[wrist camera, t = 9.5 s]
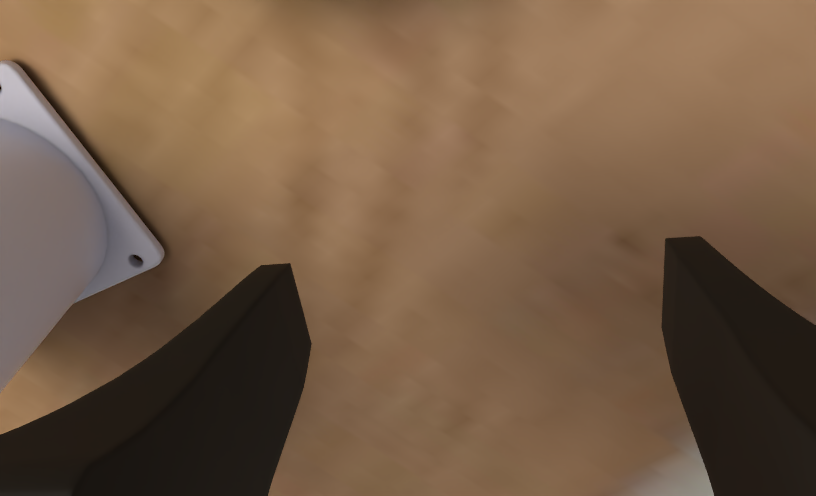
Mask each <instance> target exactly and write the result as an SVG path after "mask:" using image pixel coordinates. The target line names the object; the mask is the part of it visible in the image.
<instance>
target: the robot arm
mask: <svg viewBox="0 0 816 496" xmlns="http://www.w3.org/2000/svg"><path fill="white" fill-rule="evenodd" d="M0 85H1V90H0V393H1V392H2V390H3V389H4V388H5V387H6V385H7V384H8V383H9V382H10V380H11V379H12V378H13V377H14V376H15V374H16V373H17V372H18V371H19V369H20V368H21V367H22V366H23V364H24V363H25V362H26V361H27V360H28V358H29V357H30V356H31V355H32V353H33V352H34V351H35V350H36V348H37V347H38V346H39V345H40V344H41V342H42V341H43V340H44V339H45V337H46V336H47V335H48V334H49V332H50V331H51V330H52V329H53V328H54V326H55V325H56V324H57V323H58V321H59V320H60V319H61V318H62V316H63V315H64V314H65V313H66V312H67V310H68V309H69V308H70V307H71V305H72V304H73V303H76V302H78V301H80V300H82V299H85V298H87V297H89V296H91V295H93V294H96V293H98V292H100V291H102V290H105V289H107V288H109V287H111V286H114V285H116V284H118V283H120V282H122V281H125V280H127V279H129V278H131V277H134V276H136V275H138V274H140V273H142V272H145V271H147V270H149V269H151V268H154V267H156V266H157V265H159V264H160V262H161V261H162V260H163V258H164V255H165V254H164V249H163V247H162V246H161V244H160V243H159V242H158V240H157V239H156V238H155V237H154V235H153V234H152V233H151V232H150V230H149V229H148V228H147V226H146V225H145V224H144V223H143V221H142V220H141V219H140V218H139V216H138V215H137V214H136V212H135V211H134V210H133V209H132V207H131V206H130V205H129V204H128V202H127V201H126V200H125V199H124V197H123V196H122V195H121V193H120V192H119V191H118V190H117V188H116V187H115V186H114V185H113V183H112V182H111V181H110V179H109V178H108V177H107V176H106V174H105V173H104V172H103V171H102V169H101V168H100V167H99V166H98V164H97V163H96V162H95V160H94V159H93V158H92V157H91V155H90V154H89V153H88V152H87V150H86V149H85V148H84V146H83V145H82V144H81V143H80V141H79V140H78V139H77V138H76V136H75V135H74V134H73V132H72V131H71V130H70V129H69V127H68V126H67V125H66V124H65V122H64V121H63V120H62V119H61V117H60V116H59V115H58V113H57V112H56V111H55V110H54V108H53V107H52V106H51V105H50V103H49V102H48V101H47V99H46V98H45V97H44V96H43V94H42V93H41V92H40V91H39V89H38V88H37V87H36V86H35V84H34V83H33V82H32V80H31V79H30V78H29V77H28V75H27V74H26V73H25V72H24V70H23V69H22V68H21V67H20V66H19V65H18V64H17V63H15V62H13V61H10V60H2V61H0ZM133 255H137V256H139V257H140V258H142V260H143V261H138V260H137V259H135V258H134V256H133ZM662 331H663V336H664V341H665V346H666V351H667V355H668V360H669V364H670V369H671V373H672V376H673V379H674V382H675V385H676V387H677V390H678V393H679V396H680V399H681V401H682V404H683V407H684V410H685V412H686V415H687V418H688V421H689V423H690V426H691V429H692V432H693V434H694V437H695V440H696V443H697V445H698V448H699V451H700V454H701V456H702V459H703V462H704V464H705V467H706V470H707V473H708V476H709V480H710V483H711V486H712V489H713V492H714V496H816V325H814V324H813V323H811V322H809V321H808V320H806V319H805V318H803V317H802V316H800V315H799V314H797V313H796V312H795V311H793V310H792V309H790V308H789V307H787V306H786V305H784V304H783V303H781V302H780V301H779V300H777V299H776V298H775V297H773V296H772V295H771V294H769V293H768V292H767V291H765V290H764V289H763V288H761V287H760V286H759V285H758V284H756V283H755V282H754V281H753V280H751V279H750V278H749V277H748V276H746V275H745V274H744V273H743V272H741V271H740V270H739V269H738V268H737V267H735V266H734V265H733V264H732V263H731V262H730V261H728V260H727V259H726V258H725V257H724V256H723V255H721V254H720V253H719V252H718V251H717V250H716V249H715V248H713V247H712V246H711V245H710V244H709V243H708V242H706V241H705V240H704V239H703V238H702V237H700V236H696V237H681V238H666V239H665V260H664V284H663V307H662ZM310 350H311V340H310V336H309V332H308V329H307V325H306V321H305V317H304V313H303V310H302V306H301V302H300V298H299V295H298V291H297V287H296V283H295V279H294V276H293V272H292V268H291V264H290V263H288V264H273V265H261V266H260V267H258V268H257V269H256V270H254V271H253V272H252V273H251V274H249V275H248V276H247V277H246V278H245V279H243V280H242V281H241V282H240V283H239V284H238V285H236V286H235V287H234V288H233V289H232V290H231V291H230V292H228V293H227V294H226V295H225V296H224V297H223V298H222V299H220V300H219V301H218V302H217V303H216V304H215V305H213V306H212V307H211V308H210V309H209V310H208V311H207V312H205V313H204V314H203V315H202V316H201V317H200V318H198V319H197V320H196V321H195V322H193V323H192V324H191V325H190V326H188V327H187V328H186V329H185V330H183V331H182V332H181V333H179V334H178V335H177V336H176V337H174V338H173V339H172V340H171V341H169V342H168V343H167V344H165V345H164V346H163V347H162V348H160V349H159V350H157V351H156V352H155V353H153V354H152V355H150V356H149V357H148V358H146V359H145V360H143V361H142V362H140V363H139V364H137V365H136V366H134V367H133V368H131V369H130V370H128V371H126V372H125V373H123V374H122V375H120V376H119V377H117V378H115V379H114V380H112V381H110V382H108V383H107V384H105V385H103V386H101V387H99V388H98V389H96V390H94V391H92V392H90V393H89V394H87V395H85V396H83V397H81V398H80V399H78V400H76V401H74V402H72V403H70V404H68V405H66V406H64V407H62V408H60V409H58V410H56V411H54V412H52V413H50V414H48V415H46V416H43V417H41V418H39V419H37V420H34V421H32V422H30V423H28V424H25V425H23V426H21V427H19V428H16V429H14V430H11V431H9V432H6V433H4V434H1V435H0V496H268V493H269V489H270V486H271V483H272V479H273V476H274V473H275V470H276V467H277V465H278V462H279V459H280V456H281V453H282V450H283V447H284V444H285V441H286V438H287V435H288V433H289V430H290V427H291V424H292V421H293V418H294V415H295V412H296V409H297V406H298V403H299V400H300V397H301V394H302V391H303V388H304V383H305V378H306V373H307V368H308V362H309V356H310Z"/></svg>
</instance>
